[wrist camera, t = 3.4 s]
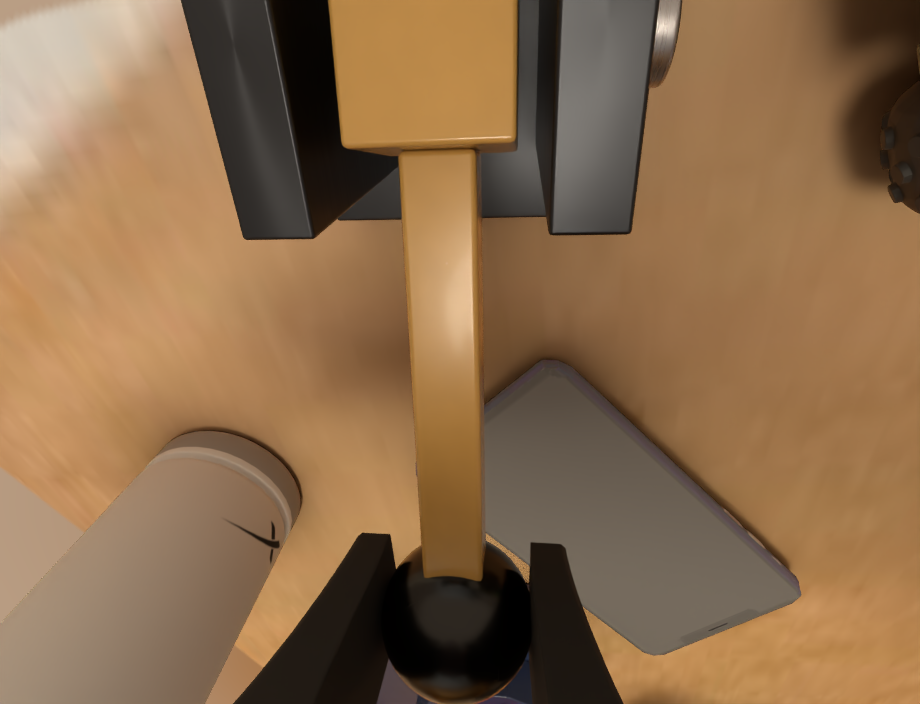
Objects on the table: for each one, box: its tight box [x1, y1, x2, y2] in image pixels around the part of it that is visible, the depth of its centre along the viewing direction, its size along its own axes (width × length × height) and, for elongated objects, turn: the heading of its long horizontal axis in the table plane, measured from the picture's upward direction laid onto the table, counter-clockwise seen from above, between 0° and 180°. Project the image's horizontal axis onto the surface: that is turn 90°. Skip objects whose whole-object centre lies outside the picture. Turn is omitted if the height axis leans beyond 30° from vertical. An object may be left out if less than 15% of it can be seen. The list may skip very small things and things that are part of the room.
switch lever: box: [328, 0, 531, 704], centre depth 9 cm, size 13×3×3 cm, turn 3°
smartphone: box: [416, 359, 801, 655], centre depth 20 cm, size 8×1×15 cm
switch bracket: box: [181, 0, 682, 240], centre depth 9 cm, size 8×8×9 cm
